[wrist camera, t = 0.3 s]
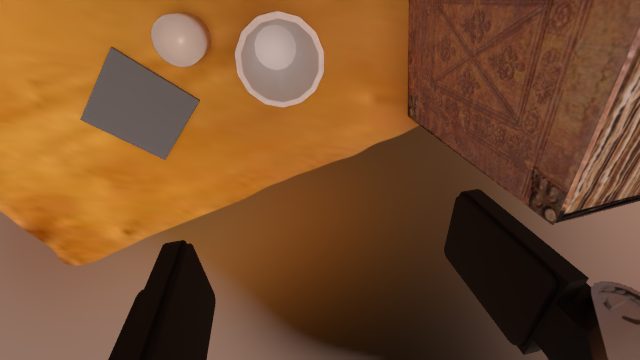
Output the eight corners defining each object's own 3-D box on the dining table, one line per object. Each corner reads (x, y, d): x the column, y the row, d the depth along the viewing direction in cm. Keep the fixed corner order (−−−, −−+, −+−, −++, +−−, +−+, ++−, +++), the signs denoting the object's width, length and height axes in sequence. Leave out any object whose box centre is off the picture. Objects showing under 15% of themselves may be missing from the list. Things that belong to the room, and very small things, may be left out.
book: (409, -68, 36) (750, -231, 11) (476, -81, 36) (944, -264, 11) (407, 116, 50) (554, 227, 25) (455, 105, 50) (645, 202, 26)
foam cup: (238, 73, 41) (231, 98, 30) (245, 1, 36) (238, 0, 26) (300, 86, 44) (314, 113, 33) (313, 20, 39) (334, 26, 28)
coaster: (81, 118, 40) (80, 119, 40) (112, 47, 36) (110, 47, 36) (165, 158, 46) (164, 159, 45) (199, 100, 42) (199, 100, 42)
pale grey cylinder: (158, 40, 37) (143, 46, 32) (177, 2, 35) (163, 1, 30) (198, 67, 40) (190, 76, 35) (218, 32, 38) (211, 37, 33)
